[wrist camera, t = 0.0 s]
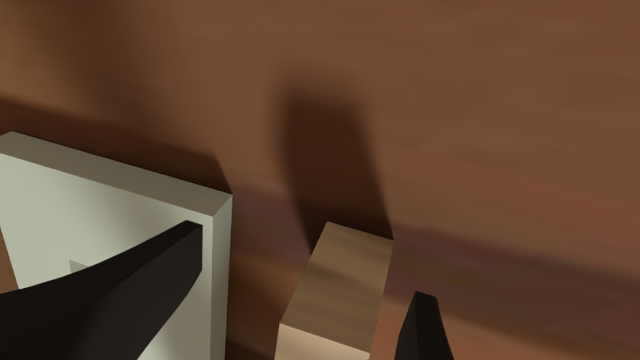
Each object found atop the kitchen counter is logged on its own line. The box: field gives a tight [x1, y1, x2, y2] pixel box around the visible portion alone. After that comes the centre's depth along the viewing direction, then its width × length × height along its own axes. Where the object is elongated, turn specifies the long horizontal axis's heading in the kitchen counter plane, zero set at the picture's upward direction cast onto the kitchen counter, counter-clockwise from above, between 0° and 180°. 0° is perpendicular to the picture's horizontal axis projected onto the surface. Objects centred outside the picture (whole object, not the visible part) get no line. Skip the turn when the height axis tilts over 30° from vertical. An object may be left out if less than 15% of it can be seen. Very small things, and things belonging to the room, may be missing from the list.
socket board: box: [0, 131, 233, 360], centre depth 31 cm, size 20×16×2 cm
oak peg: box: [274, 221, 394, 360], centre depth 23 cm, size 4×4×8 cm
